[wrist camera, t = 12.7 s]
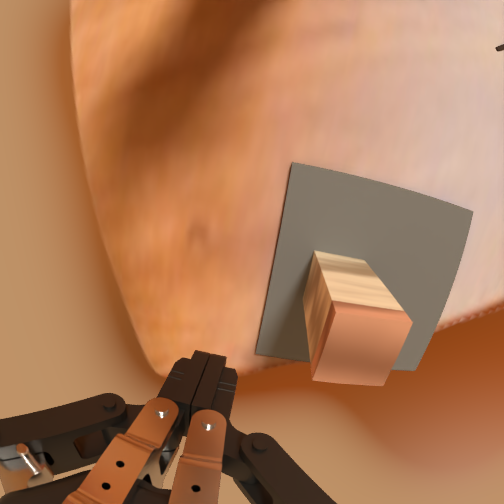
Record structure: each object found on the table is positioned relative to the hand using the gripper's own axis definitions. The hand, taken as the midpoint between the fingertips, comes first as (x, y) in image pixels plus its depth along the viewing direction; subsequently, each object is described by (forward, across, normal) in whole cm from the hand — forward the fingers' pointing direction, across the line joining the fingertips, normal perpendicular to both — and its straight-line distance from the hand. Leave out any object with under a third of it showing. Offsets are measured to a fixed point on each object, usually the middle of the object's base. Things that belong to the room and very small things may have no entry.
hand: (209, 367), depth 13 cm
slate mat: (+16, -12, 0) cm, 20 cm away
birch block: (+15, -8, 0) cm, 17 cm away
